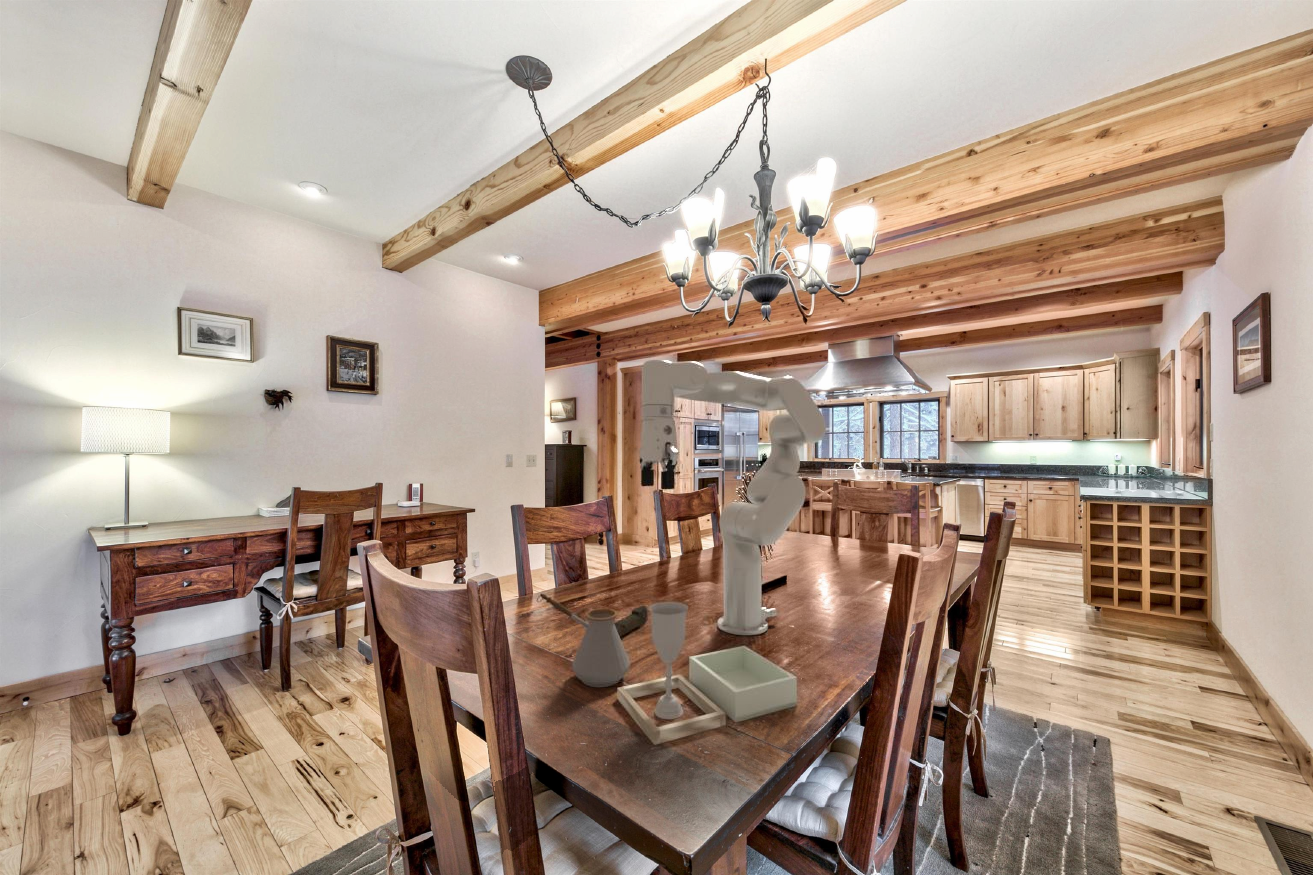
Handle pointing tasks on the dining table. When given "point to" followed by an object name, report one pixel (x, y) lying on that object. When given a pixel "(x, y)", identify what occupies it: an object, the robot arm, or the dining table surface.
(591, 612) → the coffee pot
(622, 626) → the hand tool
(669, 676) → the chalice
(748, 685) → the sage bin
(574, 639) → the dining table surface
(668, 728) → the ash frame
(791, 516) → the robot arm
